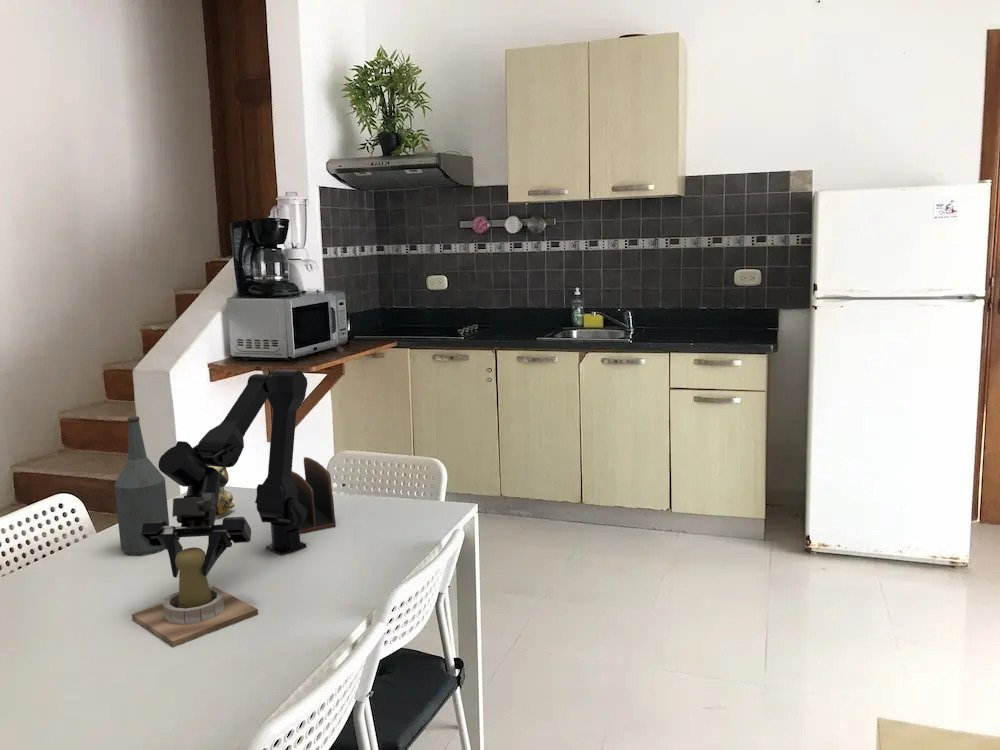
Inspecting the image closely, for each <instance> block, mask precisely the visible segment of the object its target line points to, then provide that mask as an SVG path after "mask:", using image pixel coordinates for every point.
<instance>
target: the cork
mask: <svg viewBox="0 0 1000 750" xmlns="http://www.w3.org/2000/svg"><path fill="white" fill-rule="evenodd" d="M205 557H206V552H205V551H204V550H203V549H202V548H200V547H188V548H184V549H182V550H181V551H180V552H178V553H177V555H176V558H175V564H176V566H177V568H178V569H179V572H178V574H179V575H178V576H179V578H178V581H179V583H178V592H179V608H185V609H186V608H193V607H199V606H202V605H205V604H208V603H210V602H212V601H213V600H212V596H211V592H210V588H209V587H210V585H209V581H208V577H207V576H204V575H203V566H204V561H205Z"/></svg>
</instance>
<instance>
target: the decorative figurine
mask: <svg viewBox="0 0 1000 750" xmlns="http://www.w3.org/2000/svg"><path fill="white" fill-rule="evenodd" d="M207 467H213V468H215V469H216V470H217V471H221V472H222V474H223V476H224V477H225V478H226V480H227V484H228V483H229V480H230V479H229V478H230V477H229V473H228V470H227V468H226V467H216V466H207ZM227 484H223V485H220V489H219V496H218V502H217V507H218V513H216V516H215V520H218V519H221V518H225V517H227V516H228V515H231V513H230V512H231V511H230V509H233V508H234V507H235V503H234V502H233V500H234V495H233V493H232V492H231V491H229V490H226V489H225V486H227Z"/></svg>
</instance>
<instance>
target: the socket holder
mask: <svg viewBox="0 0 1000 750" xmlns="http://www.w3.org/2000/svg"><path fill="white" fill-rule="evenodd" d="M209 588H210V592H211V596H212V600H213V601H212V602H210V603H208V604H205V605H202V606H199V607H193V608H186V609H185V608H179V591H177V592H175V593H172V594H171V595H170V596H168V597H167V598H165V599H164V601H163V603H161V604H158V605H154V606H152V607H148V608H146V609H142V610H140V611H137V612H134V613H131V620H132V619H133V622H135V621H136V622H135V623H137V624H138V623H139V625H140V626H141V625H142V628H144V627H145V628H144V629H146V628H147V629H148V630H147V629H146V630H147V631H149V630H150V631H151V633H152V632H153V633H154V634H153V633H152V634H153V635H155V636H156V635H157V636H156V637H158V638H159V637H160V639H161V640H162V639H163V640H162V641H164V642H165V641H166V643H167V644H168V645H169V646H171V647H177V646H179V645H181V644H184V643H186V642H190V641H192V640H194V639H197V638H200V637H202V636H205V635H207V633H208V634H211V633H213V632H216V631H218V630H221V629H223V628H226V627H228V626H231V625H235V624H236V623H239V622H241V621H245V620H247V619H249V618H251V617H255V616H258V615H259V609H258V608H257V607H256V606H255V607H254V606H253V605H251V604H250V603H249V604H248V603H247V602H245V601H244V600H241V599H239V598H237V597H235V596H233V594H230V593H228V592H227V591H224V590H222V589H220V588H219V587H216V586H215V585H212V586H209ZM220 628H221V629H220ZM215 630H216V631H215ZM150 631H149V632H150ZM210 632H211V633H210ZM204 634H205V635H204Z"/></svg>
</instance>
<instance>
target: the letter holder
mask: <svg viewBox="0 0 1000 750" xmlns="http://www.w3.org/2000/svg"><path fill="white" fill-rule="evenodd" d="M303 469H304V478H305V479H304V478H303V476H301V475H300V474H299V473H297V472H295V471H293V470H292V474H291V477H292V480H293V482H294V484H295V486H296V488H297V490H298V501H299V502H300V503H301V504H302V505H303V506H304V507H305V508H306V509H307V518H306V520H304V523H302V524H299V531H300V535H303V534H307V533H313V532H317V531H324V530H327V528H328V529H332V528H331V527H333V528H336V515H335V502H334V494H333V487H332V479H331V477H332V476H331V474H330V472H329V471H328V470H327V469H326V468H325V467H324V466H323V465H322V464H321V463H319V462H318V461H317V460H315V459H312V458H311V457H308V456H304V457H303Z"/></svg>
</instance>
